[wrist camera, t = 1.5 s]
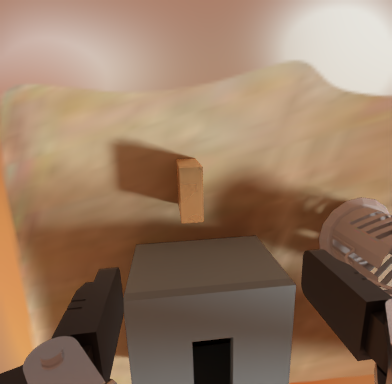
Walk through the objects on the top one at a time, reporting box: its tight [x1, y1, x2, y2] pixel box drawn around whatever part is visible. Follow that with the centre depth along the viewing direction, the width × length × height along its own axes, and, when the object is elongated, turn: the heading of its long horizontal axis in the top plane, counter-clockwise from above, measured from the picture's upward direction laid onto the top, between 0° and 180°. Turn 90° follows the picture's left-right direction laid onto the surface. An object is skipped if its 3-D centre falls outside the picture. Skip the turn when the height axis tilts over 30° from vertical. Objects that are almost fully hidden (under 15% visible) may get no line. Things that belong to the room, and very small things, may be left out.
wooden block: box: [176, 158, 204, 223], centre depth 26 cm, size 2×5×6 cm, turn 2°
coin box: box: [123, 236, 296, 384], centre depth 28 cm, size 14×16×10 cm
